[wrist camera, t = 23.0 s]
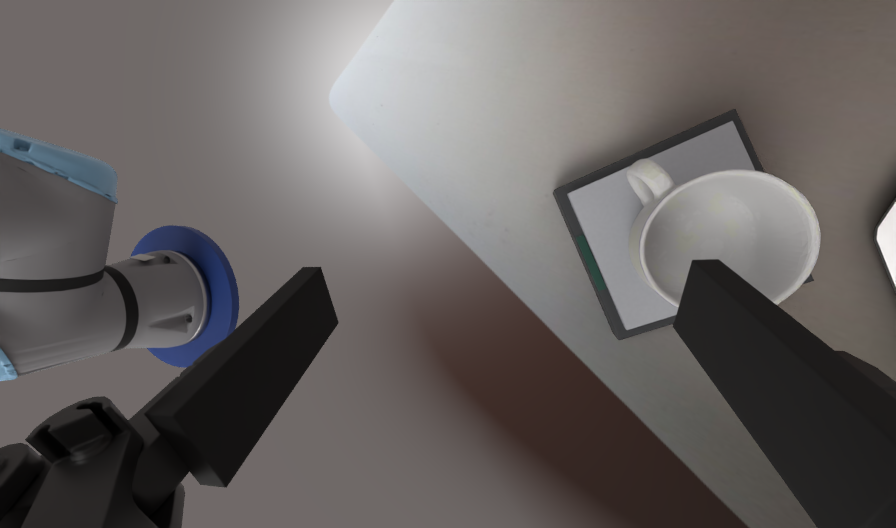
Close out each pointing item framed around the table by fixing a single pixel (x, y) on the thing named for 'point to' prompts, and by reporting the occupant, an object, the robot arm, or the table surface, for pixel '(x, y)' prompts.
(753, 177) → the teacup
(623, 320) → the scale
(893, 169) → the table surface
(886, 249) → the plate
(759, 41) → the table surface
